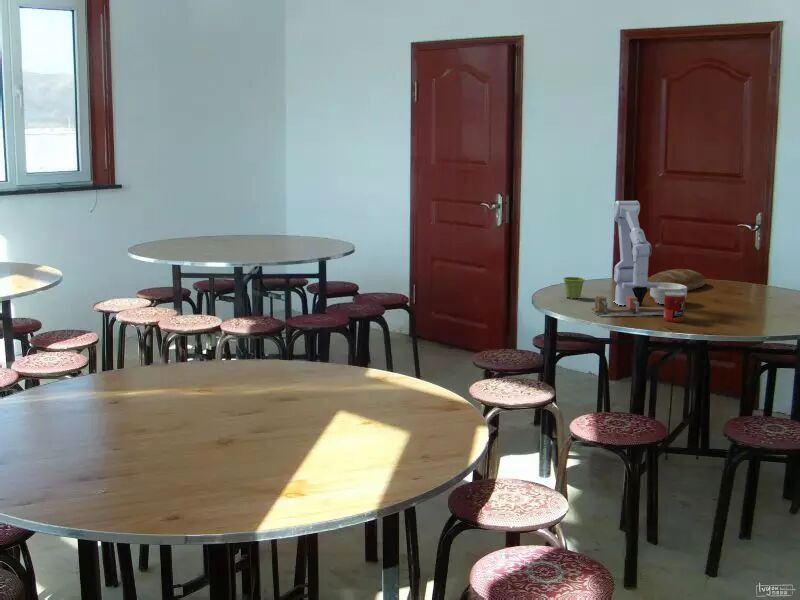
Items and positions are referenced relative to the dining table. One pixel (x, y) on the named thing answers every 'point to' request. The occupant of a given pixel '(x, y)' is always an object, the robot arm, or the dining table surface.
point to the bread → (679, 278)
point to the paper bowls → (666, 287)
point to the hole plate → (632, 313)
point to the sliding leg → (632, 303)
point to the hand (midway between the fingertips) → (639, 305)
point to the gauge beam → (602, 307)
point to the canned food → (674, 306)
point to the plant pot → (573, 286)
